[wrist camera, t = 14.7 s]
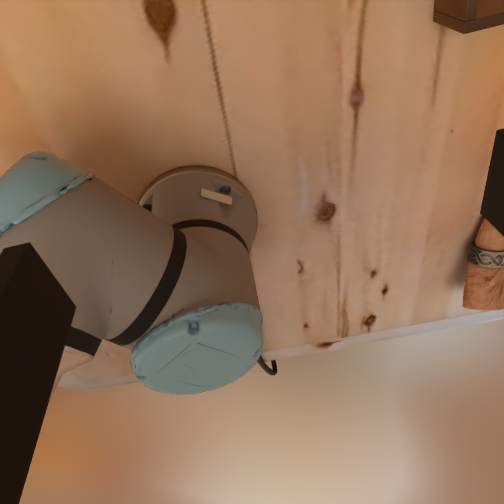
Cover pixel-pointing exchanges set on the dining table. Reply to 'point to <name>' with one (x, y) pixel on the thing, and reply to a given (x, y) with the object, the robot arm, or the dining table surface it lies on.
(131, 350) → the robot arm
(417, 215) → the dining table surface
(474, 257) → the curved blowing horn
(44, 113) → the dining table surface
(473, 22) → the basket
